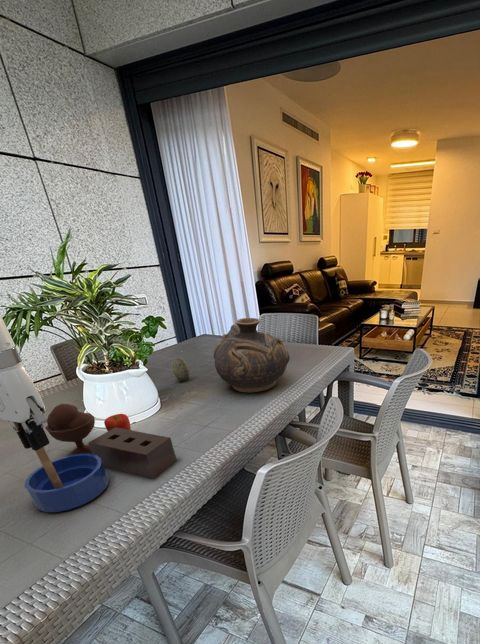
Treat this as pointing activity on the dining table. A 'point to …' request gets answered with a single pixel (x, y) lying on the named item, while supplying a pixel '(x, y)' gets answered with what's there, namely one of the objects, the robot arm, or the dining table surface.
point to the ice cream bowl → (70, 426)
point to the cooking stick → (48, 466)
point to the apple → (117, 422)
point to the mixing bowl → (68, 483)
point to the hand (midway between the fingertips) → (37, 445)
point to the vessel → (250, 357)
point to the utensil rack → (134, 452)
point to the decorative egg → (181, 369)
